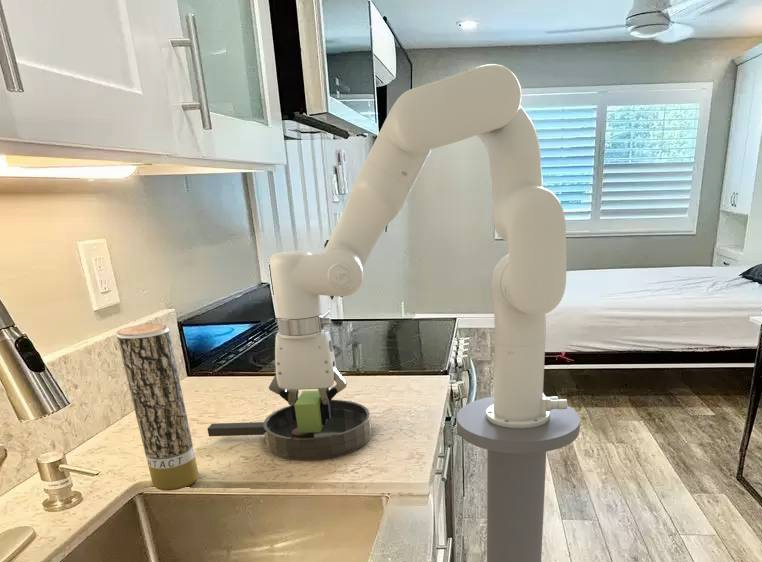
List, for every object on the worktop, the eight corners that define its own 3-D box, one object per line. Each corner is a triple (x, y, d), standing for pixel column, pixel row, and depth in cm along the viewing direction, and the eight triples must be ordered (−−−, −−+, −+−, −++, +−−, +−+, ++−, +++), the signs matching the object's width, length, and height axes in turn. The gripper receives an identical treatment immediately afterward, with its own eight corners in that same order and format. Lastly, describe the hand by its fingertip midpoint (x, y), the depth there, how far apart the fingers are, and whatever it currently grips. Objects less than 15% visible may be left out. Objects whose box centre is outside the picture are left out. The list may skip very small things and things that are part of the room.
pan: (375, 416, 116) (374, 398, 114) (365, 458, 98) (363, 437, 96) (281, 419, 115) (278, 401, 114) (253, 462, 98) (249, 441, 96)
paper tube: (166, 472, 95) (132, 324, 86) (206, 472, 94) (176, 323, 85) (144, 492, 88) (105, 335, 79) (187, 492, 88) (153, 334, 79)
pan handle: (269, 429, 107) (267, 421, 106) (265, 434, 105) (264, 426, 104) (213, 431, 107) (211, 423, 106) (208, 436, 105) (207, 428, 104)
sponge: (327, 417, 109) (324, 390, 107) (320, 432, 103) (317, 403, 100) (306, 417, 109) (302, 390, 107) (298, 432, 102) (294, 404, 100)
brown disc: (317, 432, 108) (317, 427, 107) (308, 440, 104) (307, 435, 104) (298, 430, 109) (297, 425, 108) (288, 439, 105) (287, 434, 105)
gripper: (351, 319, 102) (360, 413, 109) (258, 322, 102) (272, 416, 109) (346, 328, 95) (355, 429, 102) (245, 332, 95) (261, 432, 102)
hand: (312, 421), depth 105 cm, fingers closed on sponge, 4 cm apart
